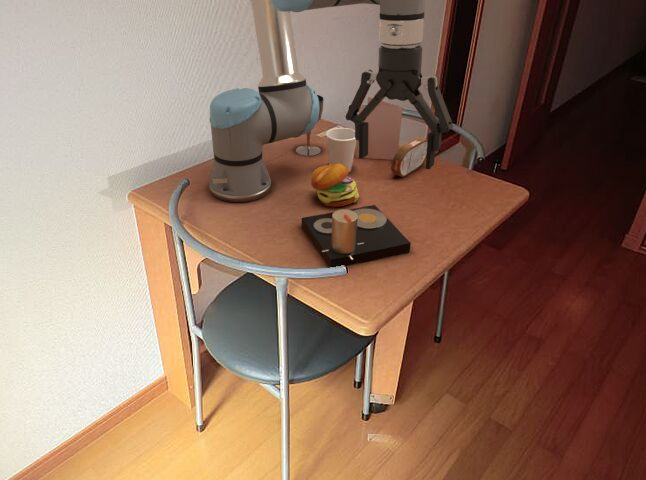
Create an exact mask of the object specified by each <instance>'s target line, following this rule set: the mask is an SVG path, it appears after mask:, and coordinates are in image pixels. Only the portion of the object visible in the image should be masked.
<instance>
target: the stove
mask: <svg viewBox="0 0 646 480" xmlns="http://www.w3.org/2000/svg"><path fill="white" fill-rule="evenodd" d="M358 209H374V210H377V211H380V212H382V210H380V208H379V207H378V206H377V205H376V204H372V205H365V206H361V207H355V208H349V209H348V210H351V211H355V210H358ZM334 212H335V211H333V212H326V213H321V214H315V215H311V216H310V215H309V216H304V217H301V223H300V224H301V227H300V228H301V229H302V230H303V232H304V233H305V235H306V237H307V238H308V239H309V241H310V242H311V244H312V245H313V246H314V248H315V249H316V251H317V252H318V254H319V255H320V257H321V258H322V259H323V261H324V263H325V264H326V265H327V267H328V268H329V267H336V266H341V265H345V266H344V267H348V266H353V265H358V264H362V263H367V262H373V261H377V260H381V259H387V258H390V257H391V258H392V257H395V256H400V255H405V254H409V253H410V252H411V242H410V240H409V239H408V238H407V237H406V236H405V235H404V234H403V233H402V232H401V231H400V230H399V229H398V228H397V226H396V225H395V224H393V223H392V221H391V220H390V219H389V218H388V217H387V216H386V218H387V221H386V224H385V225H384V226H383V227H381V228H378V229H371V230H368V229H361V228H358V227H357V234H356V248H355V251H354V252H352V253H350V254H338V253H336V252H334V251H333V250H332V249H331V234H322V233H319V232H317V231H316V230H315V229H314V223H315V222H316V221H317V220H320V219H324V218H330V219H332V214H333V213H334Z"/></svg>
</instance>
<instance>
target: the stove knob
mask: <svg viewBox="0 0 646 480" xmlns="http://www.w3.org/2000/svg"><path fill="white" fill-rule="evenodd" d="M333 212H334V213H333V214H332V234H331V249H332V250H333V251H334V252H336V253H338V254H350V253H352V252H354V251H355V248H356V234H357V221H358V215H357V214H356V213H355V212H354V211H351V210H349V209H347V208H346V209H345V208H343V209H338V210H335V211H333Z"/></svg>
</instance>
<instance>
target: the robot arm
mask: <svg viewBox="0 0 646 480" xmlns="http://www.w3.org/2000/svg"><path fill="white" fill-rule="evenodd" d="M361 4H363V5H364V4H365V5H366V4H367V5H378V6H379V29H378V42H379V43H380V46H379V48H378V64H377V65H378V71H377V72H374V71H373V70H372V69H367V70H365V71H364V72H362V73H361V76H360V84H359V87H358V89H357V90H356V93H355V95H354V98H353V99H352V101H351V104H350V106H349V107H348V110H347V112H346V114H345V120H347V121H350V122H352V123H353V124H354V130H355V139H356V140H358V141H359V157H358V159H360V160H364V159H365V158H364V157H366V156H367V155H368V125H369V122H364V121H365V120H366V118H367V117H368V116H369V115H370V113H371V112H372V111H373V110H374V109H375V108H376V107H377V106H378V104H379V103H380V102H381V101H384V99H385V98H387V99H388V100H391V101H393V100H397V101H402V102H406V101H408V102H409V103H410V105H412V106H413V107H414V109H415V110H416V112H418V114H419V115H420V117H421V118H422V120H423V122H424V123H425V124H426V126H427V127H428V128H429V130H430V132H429V133H428V134H427V140H428V141H427V155H426V159H425V169H426V170H431V168H433V166H434V165H435V159H436V152H438V151H439V150H440V149H441V147H442V136H443V135H442V134H443V133H448V132H449V131H451V130H452V128H453V127H454V125H453V120H452V118H451V116H450V113H449V110H448V108H447V105H446V103H445V100H444V97H443V95H442V93H441V90H440V79H439V75H438V74H433V75H431V76H423V75H422V61H423V47H422V45H421V44H422V43H423V42H424V31H425V30H424V28H425V10H426V0H250V7H251V13H252V20H253V25H254V26H253V27H254V32H255V37H256V44H257V49H258V56H259V62H260V68H261V75H262V77H261V79H260V80H259V82H258V84H257V89H258V91H257V90H255V89H253V88H248V87H243V88H233V89H228V90H226V91H223V92H221V93H219V94H217V95H216V96H214V98H212V100H211V102H210V104H209V123H210V133H211V140H212V141H211V142H212V149H213V164H212V168H211V171H210V176H209V179H208V188H209V193H210V194H211V195H212V196H213V197H214V198H216V199H218V200H221V201H224V202H229V203H248V202H253V201H257V200H259V199H262V198H263V197H265V196H267V195H268V194H269V193H270V192H271V190H272V179H271V176H270V173H269V171H268V168H267V166H266V163H265V160H264V157H263V155H264V154H263V146H264V145H268V144H272V143H276V142H280V141H284V140H287V139H293V138H300V137H301V136H303V135H306V134H307V133H309V132H311V133H312V131H313V130H314V129H315V127H316V125H317V124H318V123H317V121H318V118H319V100H318V96H317V95H318V94H316V90H315V89H314V88H313V87H312V86H311V85H309V84H307V79H306V77H305V76H304V75H303V74H302V73H301V72H300V71H299V66H298V59H297V52H296V45H295V44H296V43H295V38H294V37H295V36H294V30H293V22H292V14H291V12H293V13H301V12H304V11H310V10H318V9H319V10H320V9H325V8H326V9H327V8H334V7H343V6H352V5H361ZM375 81H376V83H377V85H378V86H379V89H378V91H377V92H376V93H375V95H374V96H373V97H372V98H373V99H372V100H371V101H370V102H369V103H368V102H367V103H368V105H367V104H366V105H367V106H366V107H365V108H364V109H363V110H362V112H361V113H360V114H359V109H360V107H361V105H363V103H364V101H365V98H366V96H367V95H368V93H369V90H370V88H371V86H372V84H374V83H375ZM422 85H423V86H424V89H425V90H427V93H428V96H429V99H430V101H431V104H432V106H433V110H434V112H435V113H434V112H433V110H432V108H431V107H430V106H429V104H428V102H427V101H426V100H425V98H424V95H423V94H422V92H421V90H420V89H419V88H420V87H421V86H422Z"/></svg>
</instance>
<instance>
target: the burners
mask: <svg viewBox="0 0 646 480" xmlns="http://www.w3.org/2000/svg"><path fill="white" fill-rule="evenodd" d="M380 211H381V210H380ZM380 211H377V210H374V209H358V210H355V211H354V212H355V213H356V214H357V215H358V221H357V227H358V228H361V229H368V230H371V229H378V228H381V227H383V226H384V225H385V224H386V221H387V218H388V217H387V215H385V213H383V212H382V211H381V212H380ZM386 217H387V218H386ZM314 229H315V230H316V231H317V232H319V233H322V234H332V219H330V218H324V219H320V220H317V221H316V222H315V223H314Z"/></svg>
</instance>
